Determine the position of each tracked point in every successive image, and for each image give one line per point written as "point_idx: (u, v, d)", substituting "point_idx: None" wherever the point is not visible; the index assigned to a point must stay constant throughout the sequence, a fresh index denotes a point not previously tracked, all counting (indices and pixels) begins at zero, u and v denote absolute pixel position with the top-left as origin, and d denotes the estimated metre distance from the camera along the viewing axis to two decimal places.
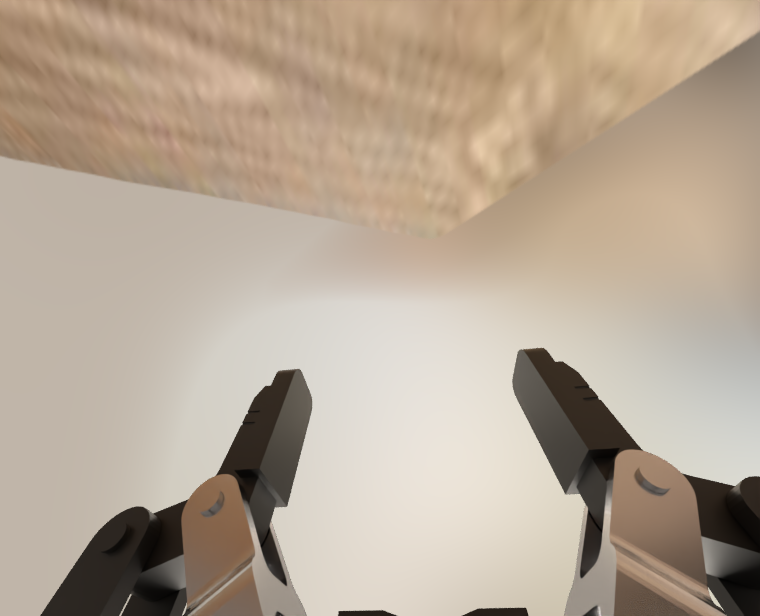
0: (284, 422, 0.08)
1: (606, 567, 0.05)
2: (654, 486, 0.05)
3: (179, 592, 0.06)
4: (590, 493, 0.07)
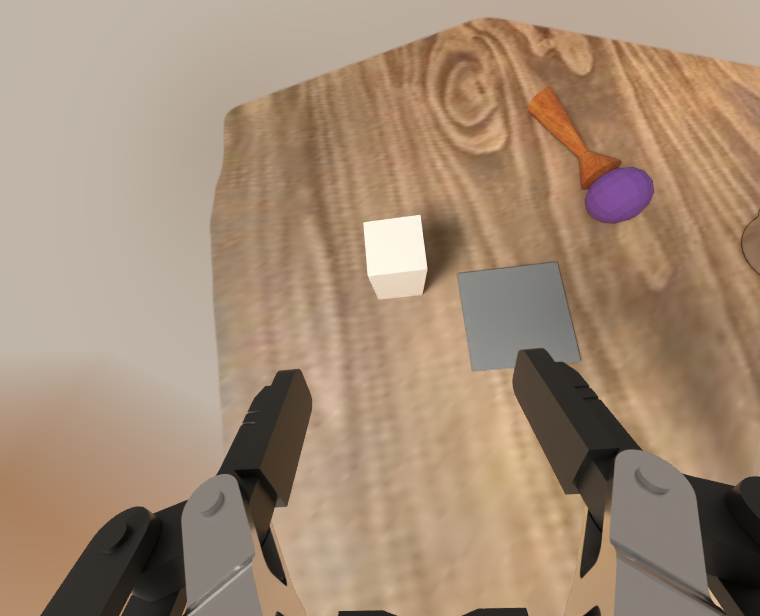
0: (284, 422, 0.08)
1: (606, 567, 0.05)
2: (654, 486, 0.05)
3: (179, 592, 0.06)
4: (590, 493, 0.07)
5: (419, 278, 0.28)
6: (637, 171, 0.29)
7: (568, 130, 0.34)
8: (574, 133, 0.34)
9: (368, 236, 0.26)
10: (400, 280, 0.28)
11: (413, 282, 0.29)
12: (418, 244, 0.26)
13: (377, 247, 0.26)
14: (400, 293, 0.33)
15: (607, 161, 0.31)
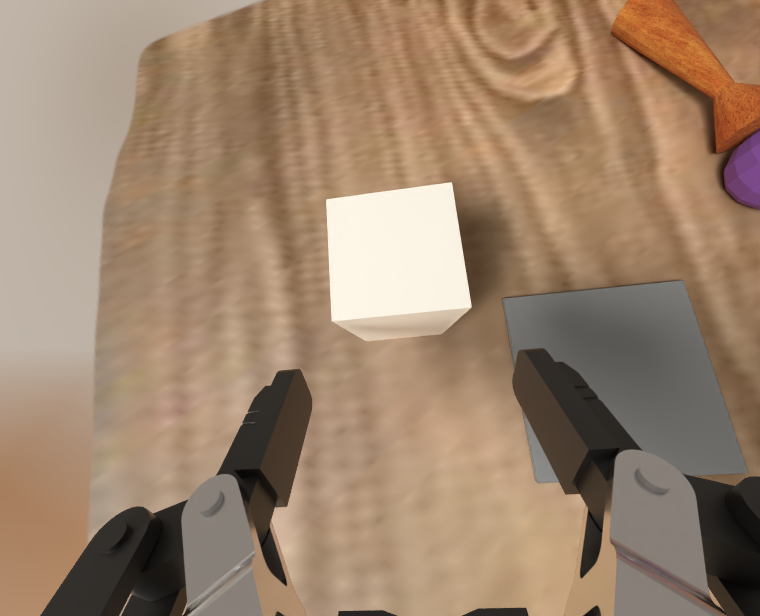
0: (284, 422, 0.08)
1: (606, 567, 0.05)
2: (654, 486, 0.05)
3: (179, 592, 0.06)
4: (590, 492, 0.07)
5: (446, 319, 0.13)
6: None
7: (694, 49, 0.20)
8: (708, 53, 0.19)
9: (336, 229, 0.12)
10: (406, 323, 0.13)
11: (431, 324, 0.14)
12: (449, 248, 0.11)
13: (355, 254, 0.12)
14: (404, 335, 0.18)
15: None
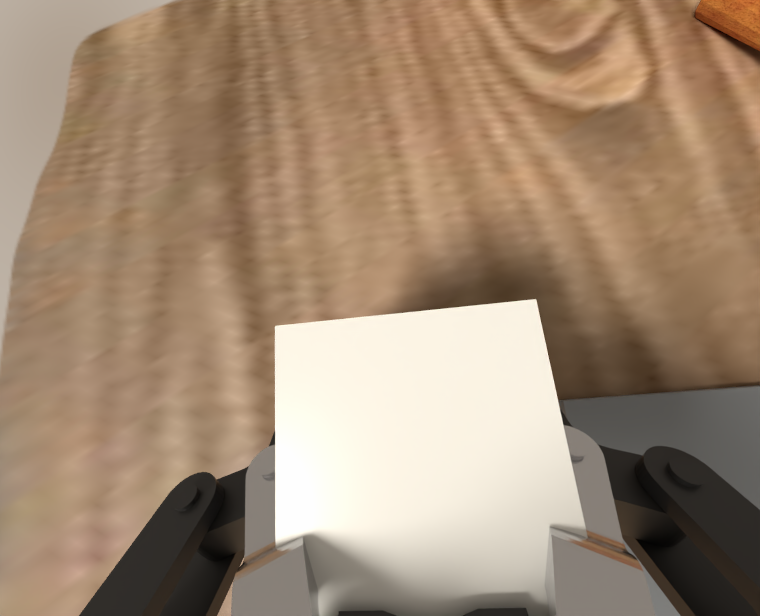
0: None
1: None
2: (573, 456, 0.06)
3: (233, 560, 0.07)
4: None
5: None
6: None
7: None
8: None
9: (292, 397, 0.06)
10: None
11: None
12: (540, 462, 0.05)
13: (331, 461, 0.05)
14: None
15: None
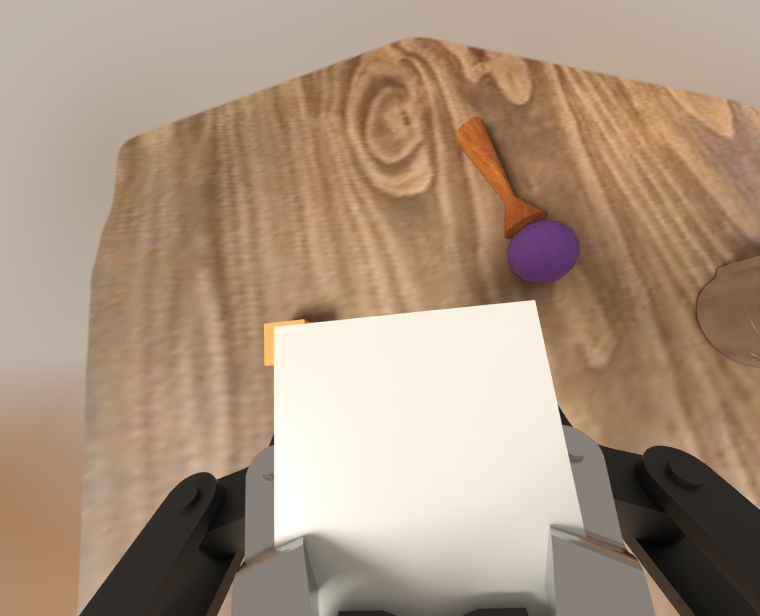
0: None
1: None
2: (573, 456, 0.06)
3: (232, 559, 0.07)
4: None
5: None
6: (558, 228, 0.24)
7: (492, 169, 0.29)
8: (499, 173, 0.29)
9: (291, 398, 0.06)
10: None
11: None
12: (539, 462, 0.05)
13: (330, 462, 0.05)
14: None
15: (528, 211, 0.26)
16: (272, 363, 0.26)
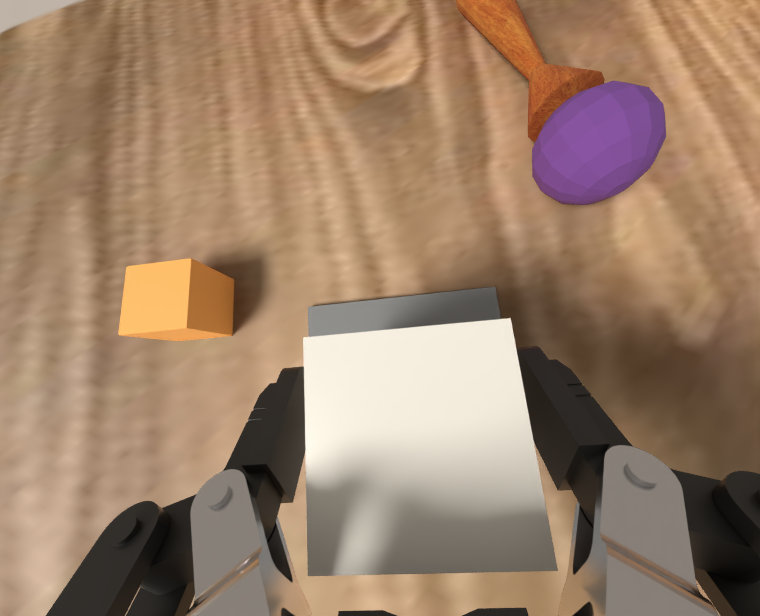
0: (289, 419, 0.08)
1: (598, 563, 0.05)
2: (642, 481, 0.05)
3: (186, 587, 0.07)
4: (581, 488, 0.07)
5: None
6: (632, 85, 0.13)
7: (512, 26, 0.18)
8: (523, 31, 0.18)
9: (318, 394, 0.07)
10: None
11: None
12: (511, 444, 0.06)
13: (349, 444, 0.07)
14: None
15: (573, 72, 0.15)
16: (131, 331, 0.15)
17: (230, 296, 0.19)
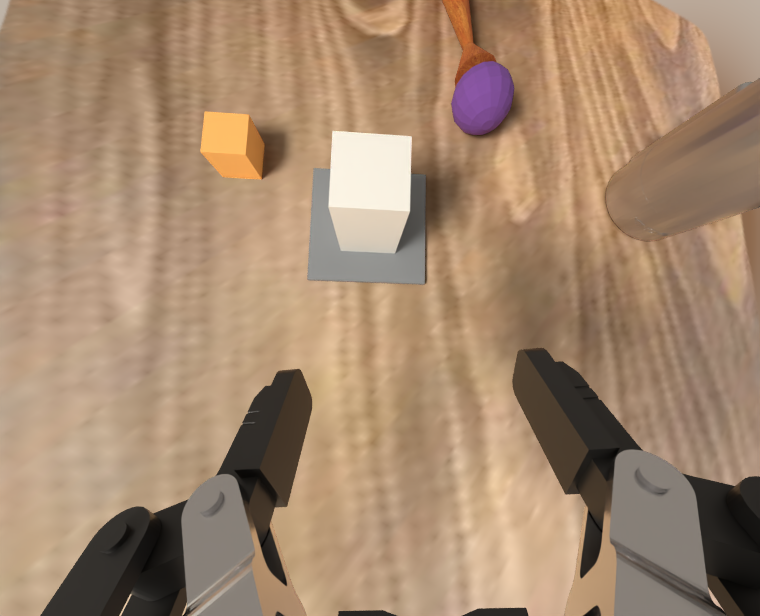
0: (283, 422, 0.08)
1: (606, 567, 0.05)
2: (654, 486, 0.05)
3: (179, 592, 0.06)
4: (590, 493, 0.07)
5: (396, 226, 0.21)
6: (498, 65, 0.25)
7: (460, 12, 0.29)
8: (466, 18, 0.29)
9: (336, 151, 0.19)
10: (371, 224, 0.21)
11: (387, 231, 0.22)
12: (403, 176, 0.19)
13: (347, 169, 0.19)
14: (368, 246, 0.26)
15: (479, 51, 0.27)
16: (209, 151, 0.25)
17: (262, 153, 0.29)
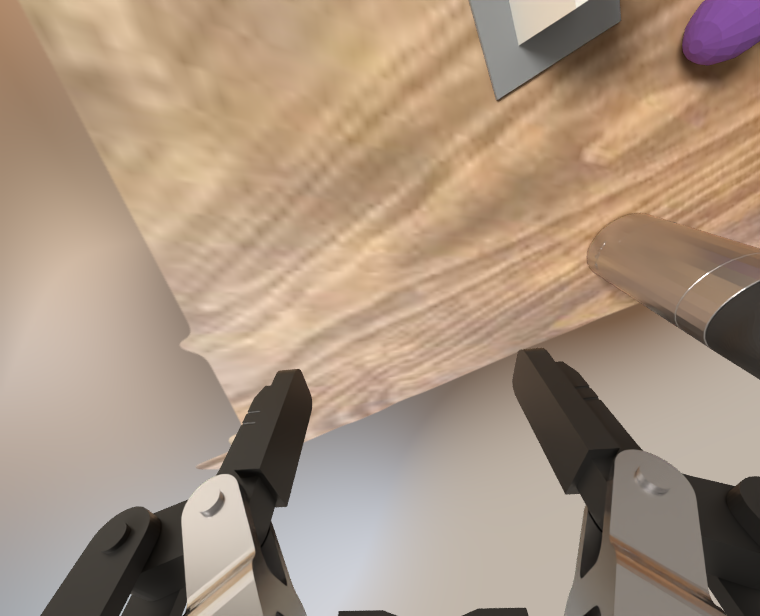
0: (284, 422, 0.08)
1: (606, 567, 0.05)
2: (654, 486, 0.05)
3: (179, 592, 0.06)
4: (590, 493, 0.07)
5: (554, 11, 0.21)
6: None
7: None
8: None
9: None
10: None
11: (545, 7, 0.21)
12: None
13: None
14: (519, 3, 0.24)
15: None
16: None
17: None
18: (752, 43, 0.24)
